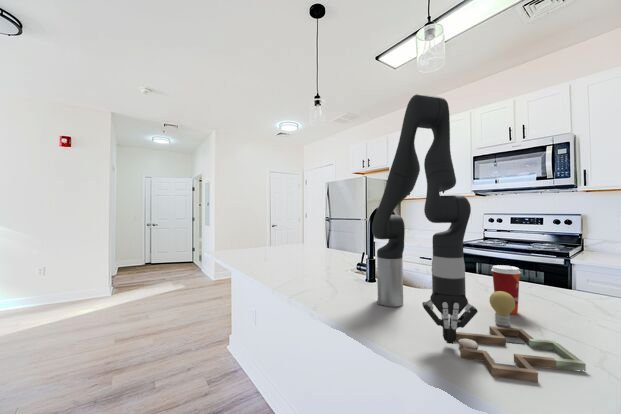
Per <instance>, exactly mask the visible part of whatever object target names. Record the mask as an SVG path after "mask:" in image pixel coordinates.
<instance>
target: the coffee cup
mask: <svg viewBox="0 0 621 414" xmlns="http://www.w3.org/2000/svg"><path fill="white" fill-rule="evenodd" d="M491 268H492V269H491V272H492V273H491V274H492V281H493V293H494V292H496V291H503V292H506V293H509V294H510V295H511V296H512V297H513V298H514V300H515V308H514V310H513V311H512V312H511V313H510V314H509V315H510V316H511V315H513V316H514V315H517V314H518V311H519V298H520V297H519V295H520V293H519V292H520V291H519V290H520V275H521V274H522V272H521V271H520V268H519V267H516V266H511V265H504V264H502V265H501V264H500V265H499V264H497V265H492V267H491Z"/></svg>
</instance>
